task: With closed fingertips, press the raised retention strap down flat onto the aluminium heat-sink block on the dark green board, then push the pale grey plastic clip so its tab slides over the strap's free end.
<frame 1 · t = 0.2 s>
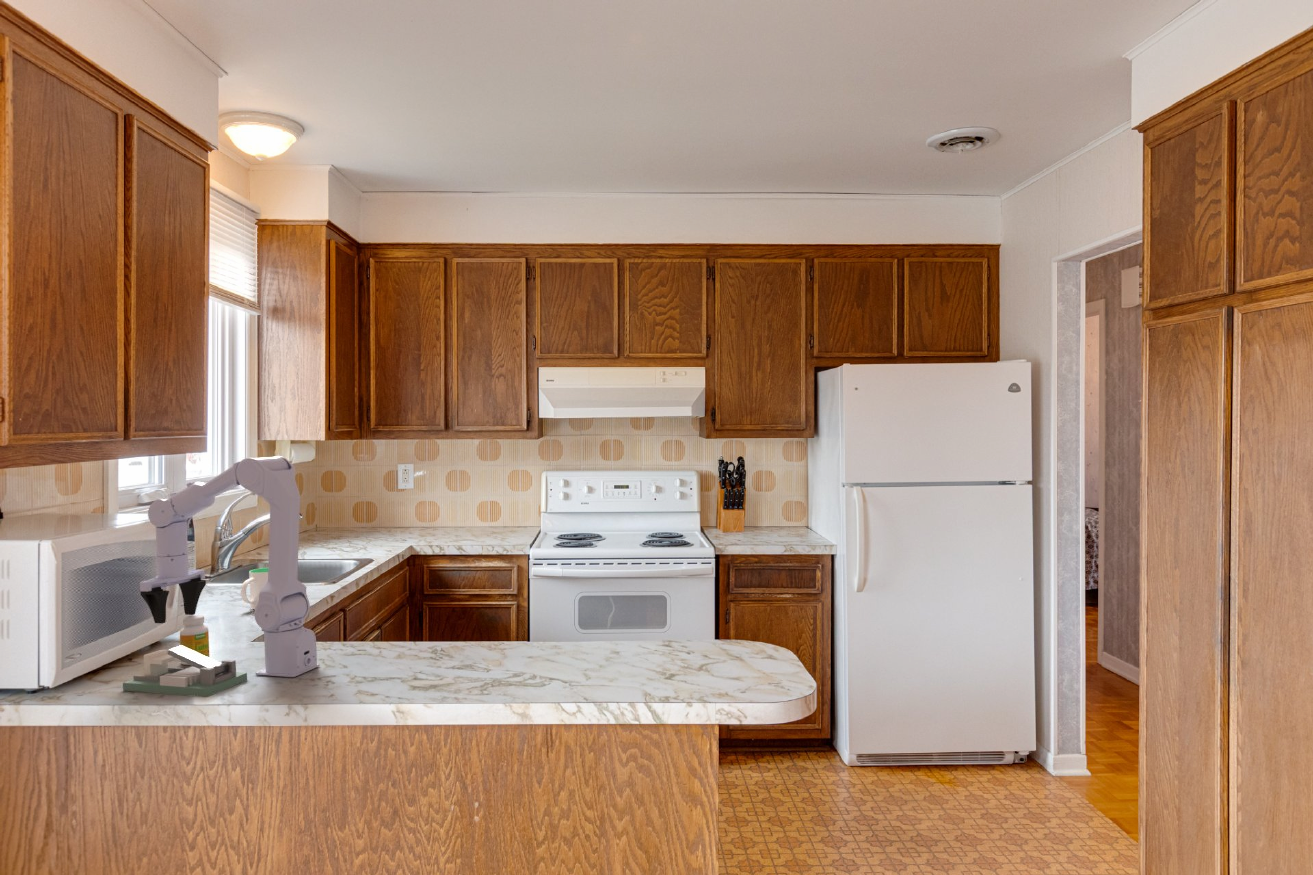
hand: (175, 618, 175), 10 cm above the counter, fingers open, 7 cm apart
supplement bottle: (195, 662, 178), on the counter
strap: (197, 660, 160), point 5 cm above the counter, hinge at 18.0°
heatsink board: (185, 685, 161), on the counter
clip: (161, 664, 163), point 4 cm above the counter, slide at 0.0 cm
mug: (261, 608, 231), on the counter
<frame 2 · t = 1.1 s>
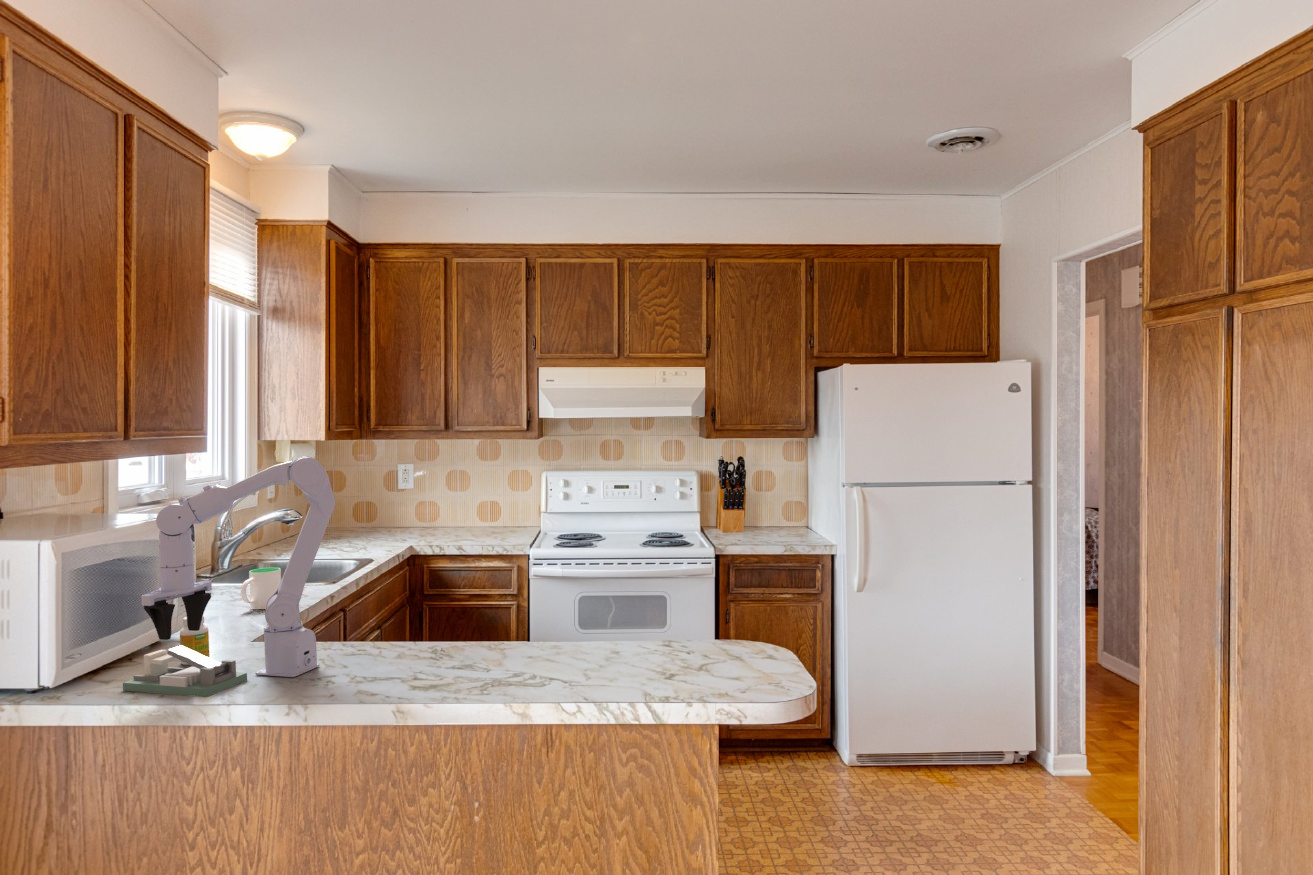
hand: (179, 634, 161), 10 cm above the counter, fingers open, 6 cm apart
nothing on the counter moved.
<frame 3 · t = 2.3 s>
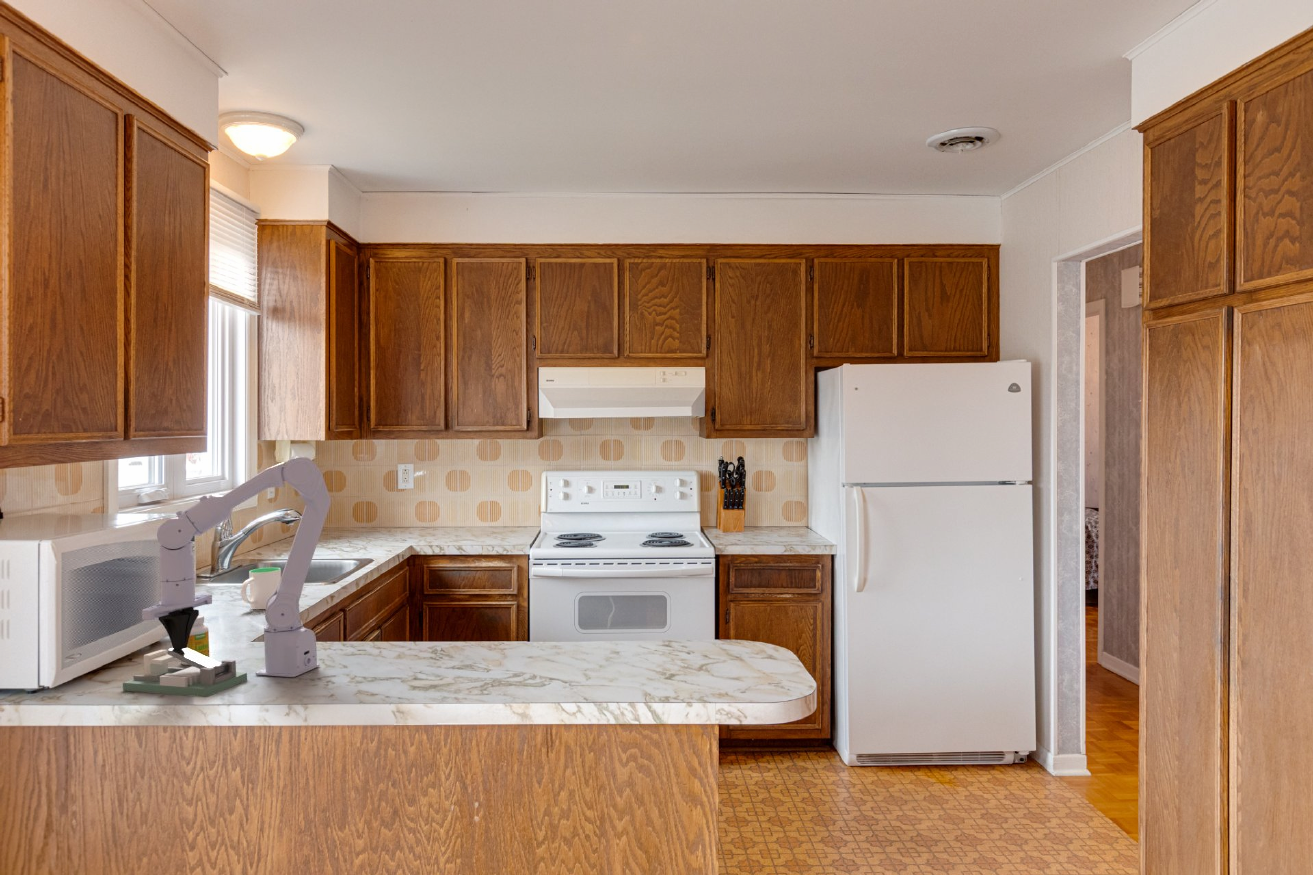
hand: (180, 648, 161), 7 cm above the counter, fingers closed, pressing on strap
strap: (197, 660, 160), point 5 cm above the counter, hinge at 18.0°, touching gripper
everything else where it was.
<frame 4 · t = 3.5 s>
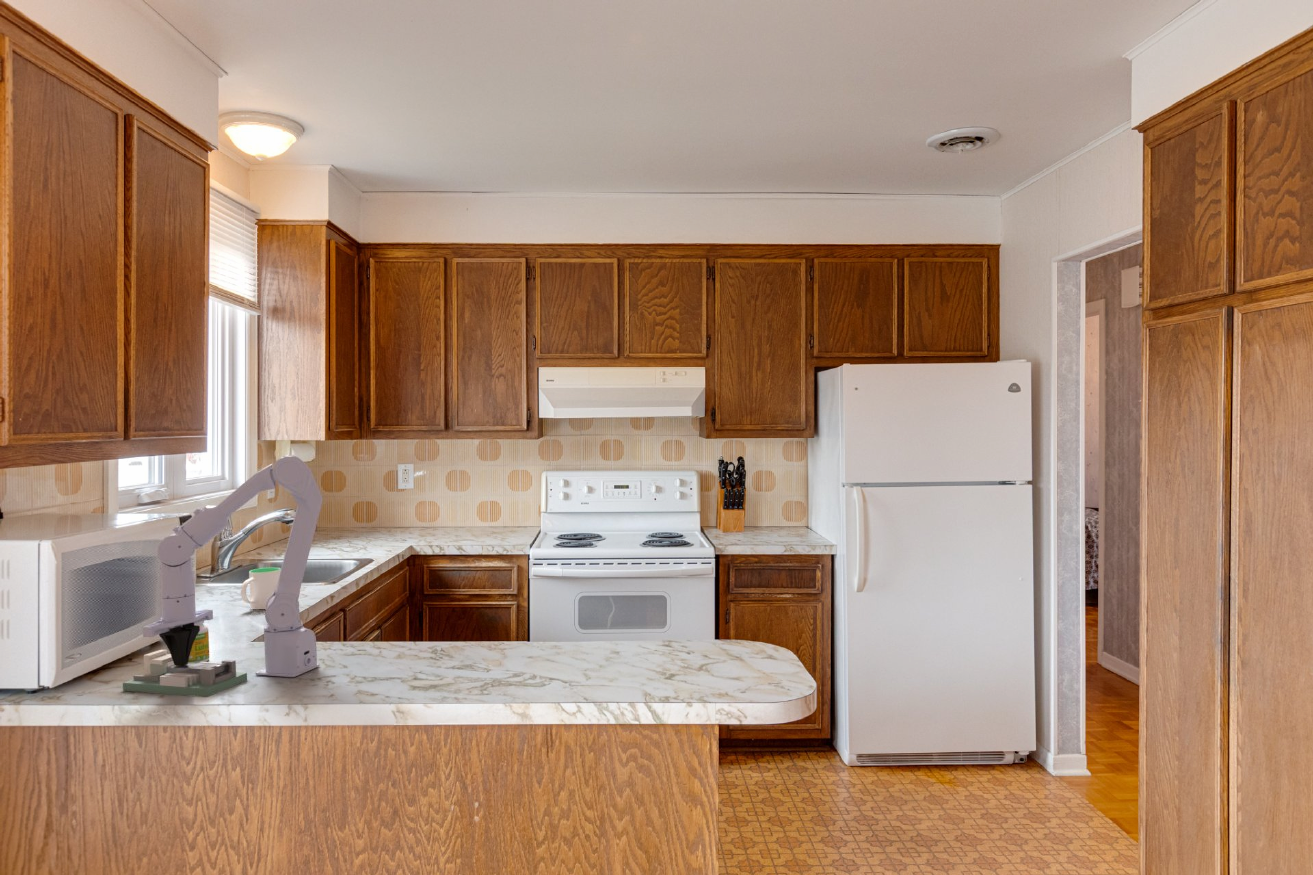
hand: (181, 664, 161), 4 cm above the counter, fingers closed
strap: (197, 668, 160), point 3 cm above the counter, hinge at -0.8°, touching heatsink board
everything else where it was.
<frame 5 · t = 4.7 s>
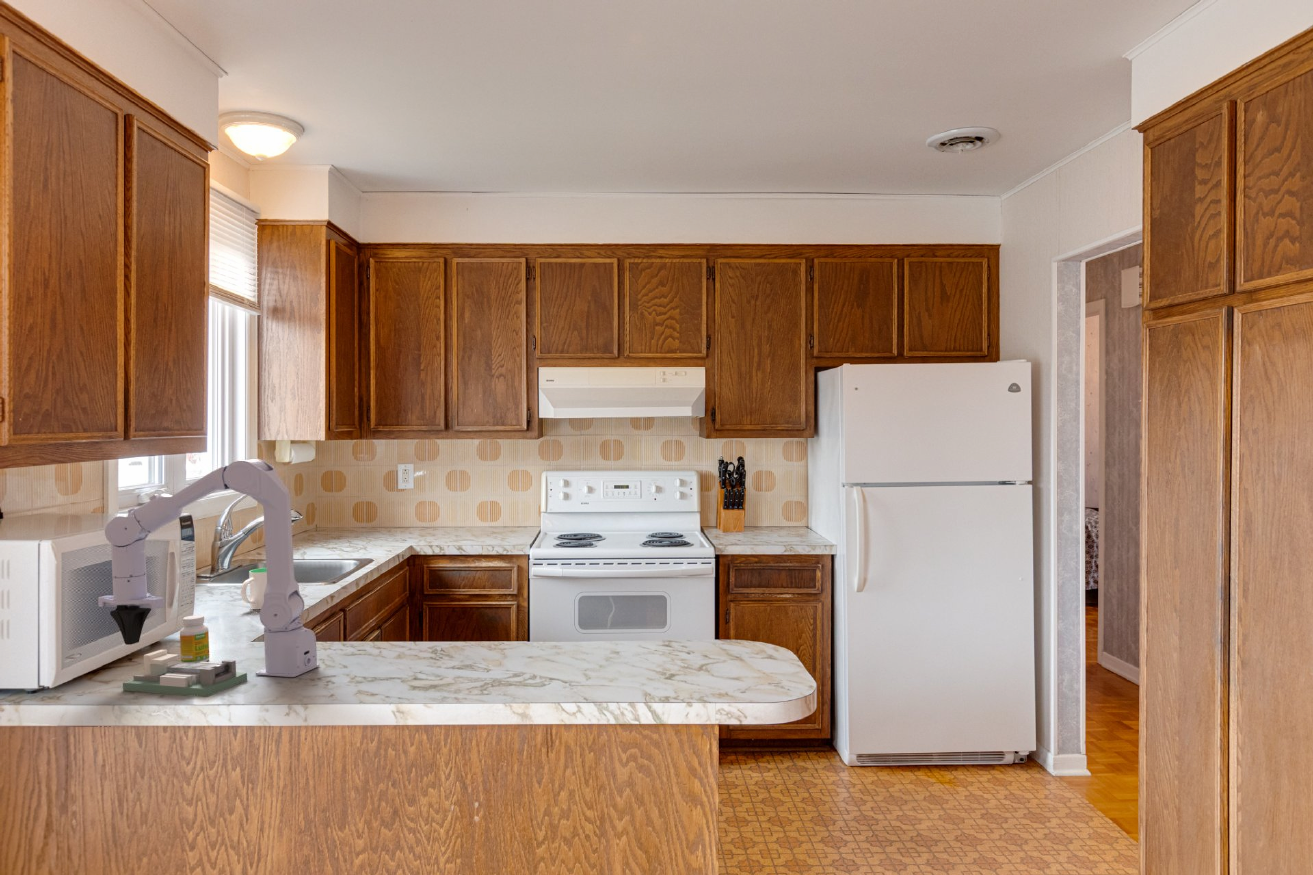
hand: (132, 643, 165), 8 cm above the counter, fingers closed
nothing on the counter moved.
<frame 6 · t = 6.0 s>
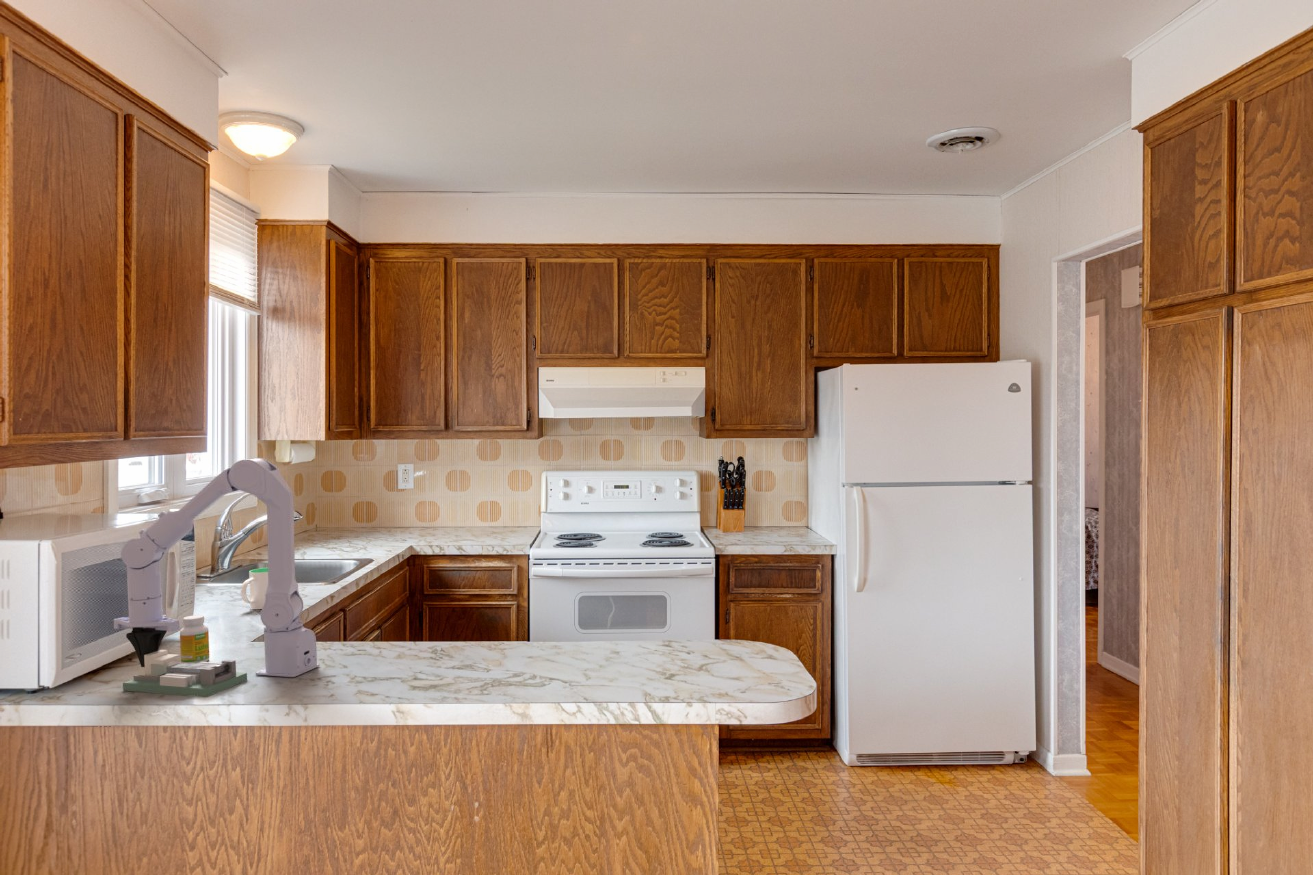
hand: (148, 665, 164), 3 cm above the counter, fingers closed
clip: (162, 664, 162), point 4 cm above the counter, slide at 0.2 cm, touching gripper
everything else where it was.
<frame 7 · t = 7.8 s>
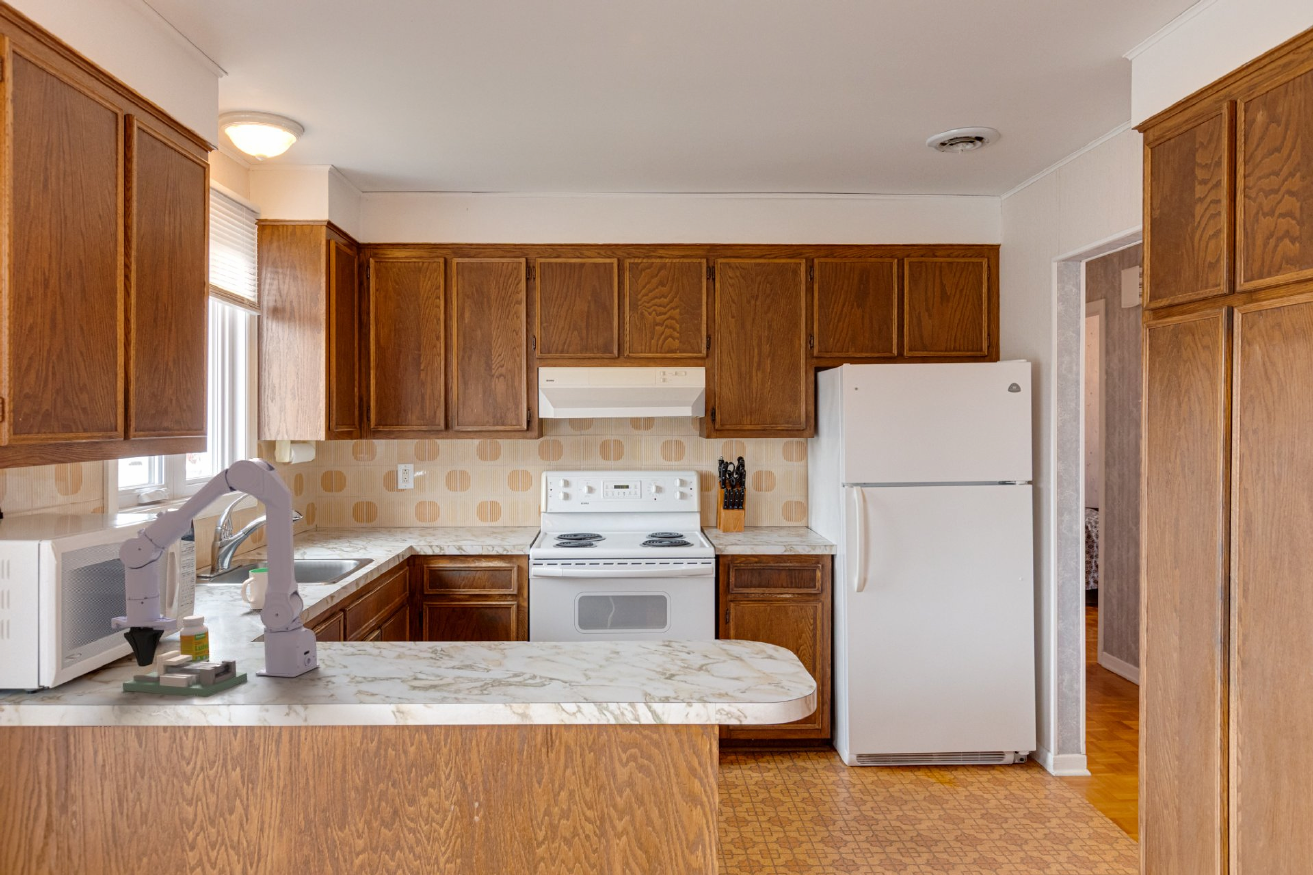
hand: (145, 665, 164), 3 cm above the counter, fingers closed
clip: (174, 665, 162), point 4 cm above the counter, slide at 3.2 cm
everything else where it was.
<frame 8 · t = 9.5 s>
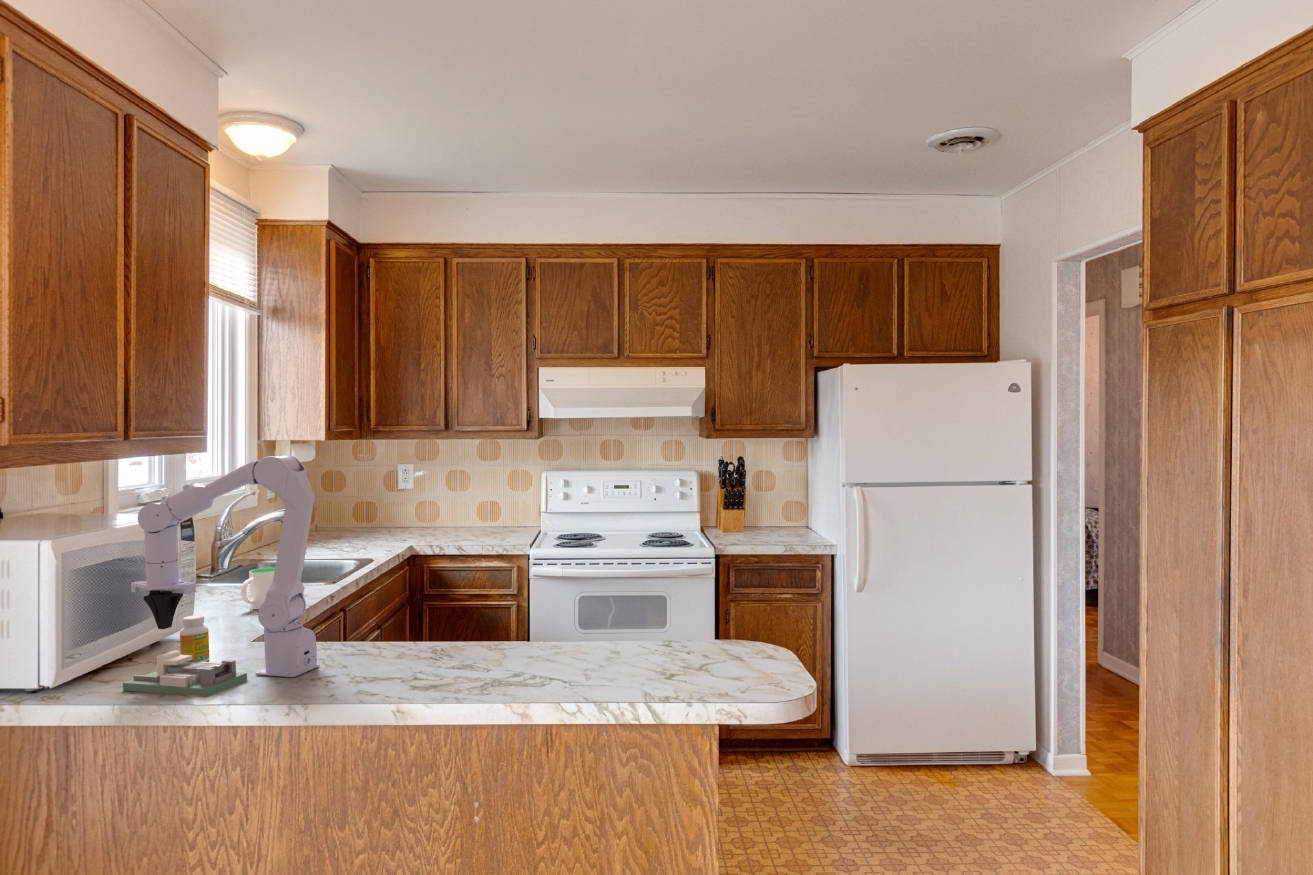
hand: (164, 628, 167), 10 cm above the counter, fingers closed
nothing on the counter moved.
at the end: strap at -1° (first picture: +18°); clip slide at 3.2 cm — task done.
